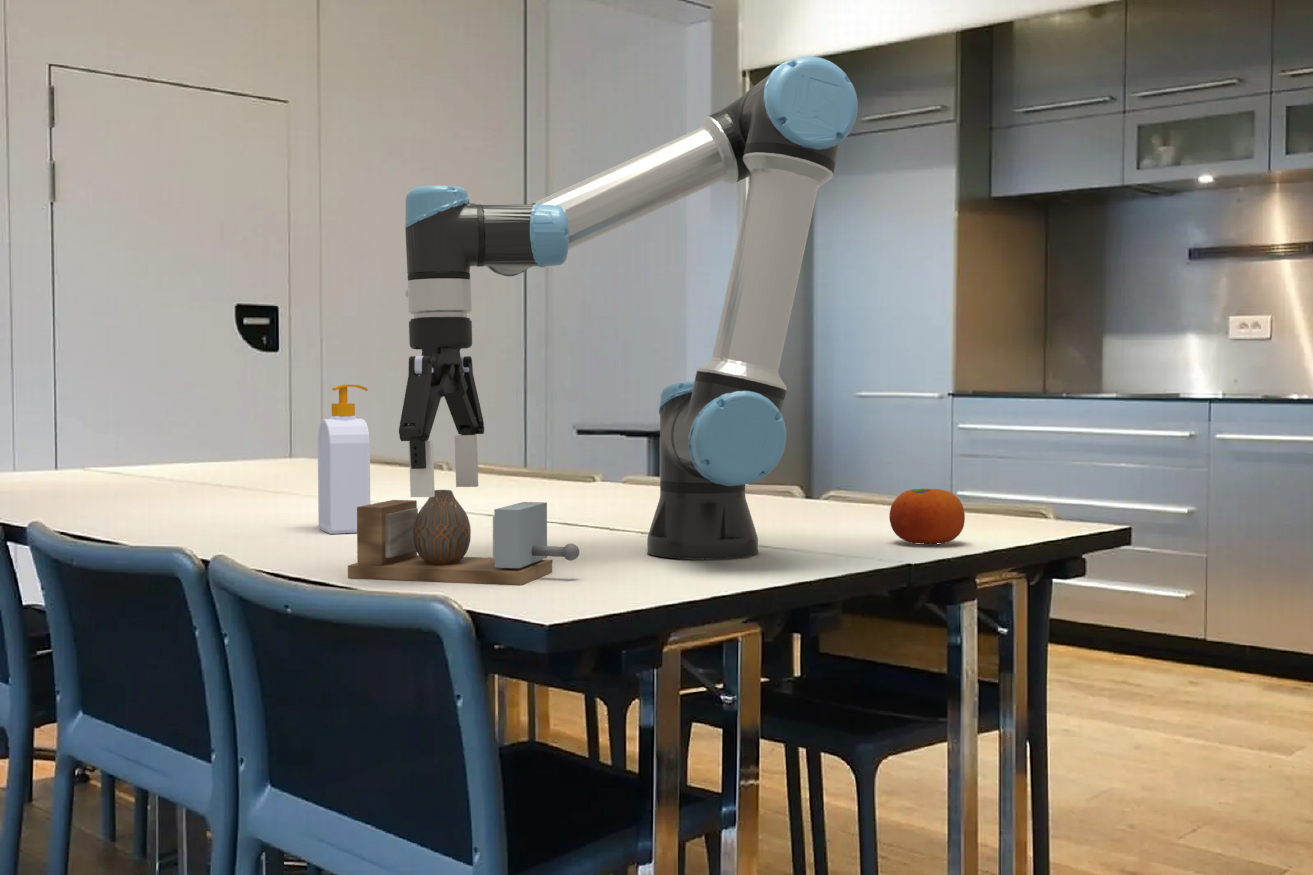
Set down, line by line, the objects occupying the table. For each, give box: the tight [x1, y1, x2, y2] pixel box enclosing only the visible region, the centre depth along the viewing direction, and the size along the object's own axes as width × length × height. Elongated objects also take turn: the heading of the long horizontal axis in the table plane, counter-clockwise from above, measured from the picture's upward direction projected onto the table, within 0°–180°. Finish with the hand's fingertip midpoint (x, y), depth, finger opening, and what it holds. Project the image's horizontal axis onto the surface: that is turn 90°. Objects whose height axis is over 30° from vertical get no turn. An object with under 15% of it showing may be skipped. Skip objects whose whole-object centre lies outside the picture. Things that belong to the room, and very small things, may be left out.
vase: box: [413, 489, 472, 564], centre depth 167 cm, size 7×7×9 cm
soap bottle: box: [317, 384, 371, 535], centre depth 214 cm, size 9×7×23 cm
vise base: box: [347, 499, 553, 586], centre depth 166 cm, size 22×11×8 cm, turn 76°
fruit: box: [888, 488, 966, 545], centre depth 198 cm, size 11×10×8 cm
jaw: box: [492, 501, 580, 568], centre depth 163 cm, size 9×10×7 cm
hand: (445, 491), depth 167 cm, fingers open, 13 cm apart
